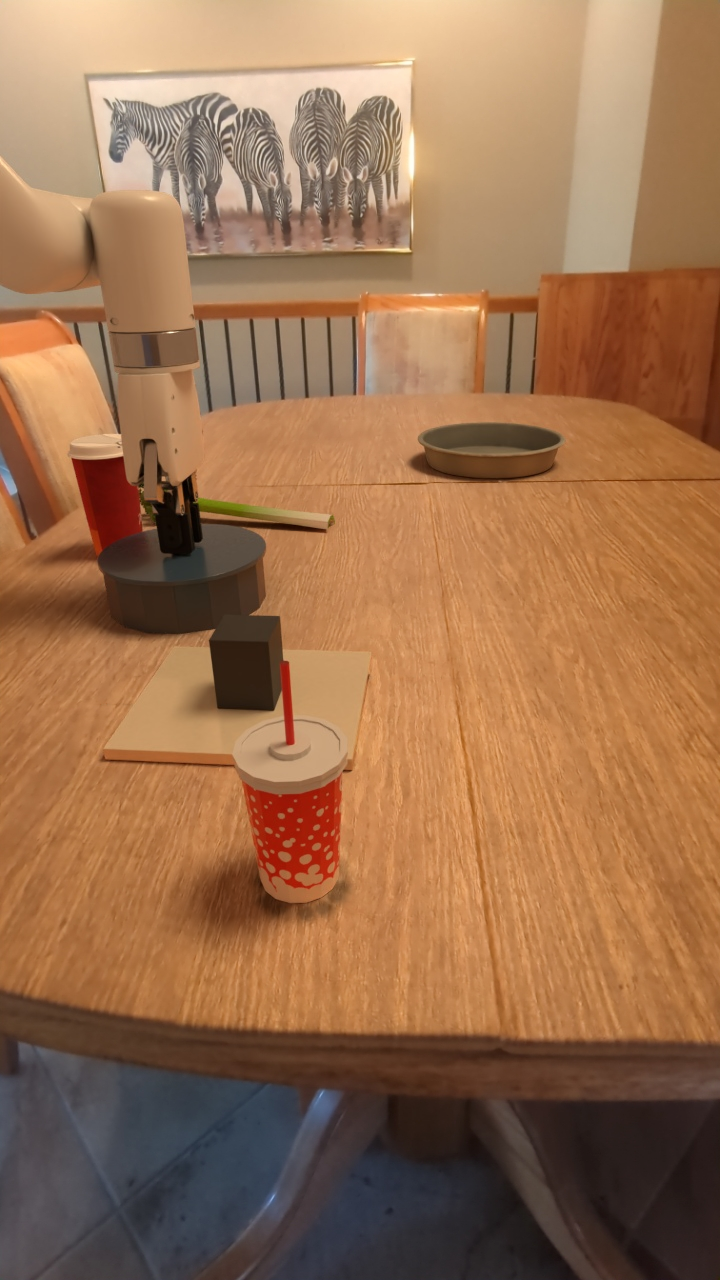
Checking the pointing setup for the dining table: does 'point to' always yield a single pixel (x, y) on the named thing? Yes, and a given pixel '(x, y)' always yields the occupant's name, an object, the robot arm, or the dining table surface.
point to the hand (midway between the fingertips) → (182, 545)
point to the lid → (182, 556)
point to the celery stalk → (253, 512)
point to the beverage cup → (294, 799)
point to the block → (247, 662)
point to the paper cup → (105, 489)
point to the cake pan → (491, 449)
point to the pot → (186, 602)
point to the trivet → (201, 733)
